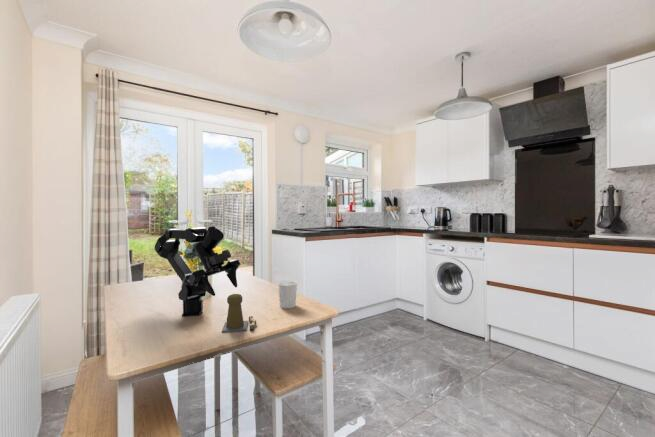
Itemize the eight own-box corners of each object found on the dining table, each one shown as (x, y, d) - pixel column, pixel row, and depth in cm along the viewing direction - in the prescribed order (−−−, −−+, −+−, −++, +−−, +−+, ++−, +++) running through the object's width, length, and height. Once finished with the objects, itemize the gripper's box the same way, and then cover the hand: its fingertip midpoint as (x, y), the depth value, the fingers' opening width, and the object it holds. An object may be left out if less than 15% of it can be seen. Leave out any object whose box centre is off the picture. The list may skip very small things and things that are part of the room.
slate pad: (221, 332, 102) (221, 330, 102) (225, 323, 110) (225, 322, 110) (246, 330, 103) (246, 329, 103) (247, 322, 111) (247, 320, 111)
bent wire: (247, 331, 103) (247, 326, 103) (249, 320, 113) (249, 316, 113) (255, 330, 104) (255, 325, 104) (256, 320, 113) (256, 315, 113)
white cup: (293, 309, 125) (293, 285, 125) (275, 308, 127) (275, 284, 126) (299, 303, 133) (299, 281, 133) (282, 302, 134) (282, 280, 134)
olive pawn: (246, 323, 109) (246, 292, 108) (238, 329, 103) (238, 297, 103) (231, 321, 110) (231, 291, 110) (222, 328, 104) (222, 296, 104)
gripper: (190, 250, 102) (210, 289, 98) (236, 239, 117) (256, 272, 113) (180, 266, 109) (198, 304, 104) (225, 254, 123) (243, 286, 119)
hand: (225, 291), depth 110 cm, fingers open, 9 cm apart
